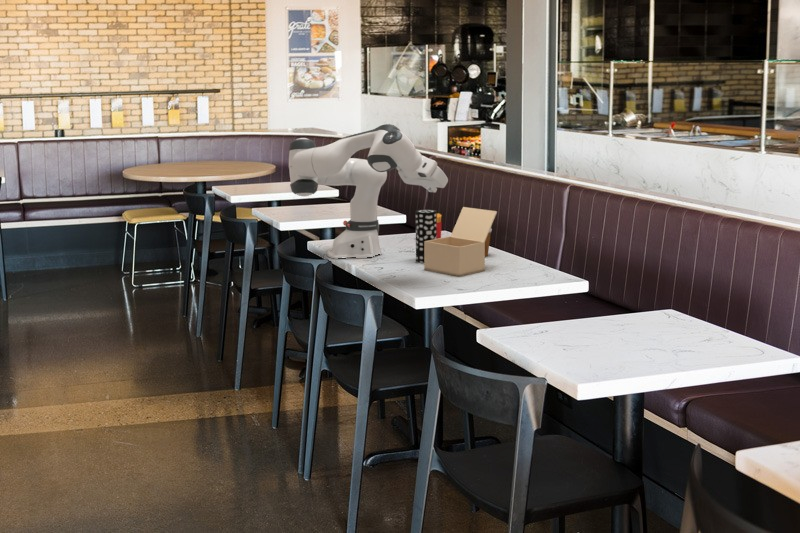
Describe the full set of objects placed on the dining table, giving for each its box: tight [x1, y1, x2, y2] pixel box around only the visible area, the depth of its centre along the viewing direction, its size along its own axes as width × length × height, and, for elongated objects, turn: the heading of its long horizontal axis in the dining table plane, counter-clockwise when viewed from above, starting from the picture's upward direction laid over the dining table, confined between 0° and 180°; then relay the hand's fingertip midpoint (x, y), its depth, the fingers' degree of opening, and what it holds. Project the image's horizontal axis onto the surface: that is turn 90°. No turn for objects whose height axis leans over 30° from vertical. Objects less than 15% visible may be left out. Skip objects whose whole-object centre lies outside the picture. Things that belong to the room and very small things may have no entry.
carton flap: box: [450, 206, 498, 242], centre depth 372 cm, size 13×17×1 cm
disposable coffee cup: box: [485, 227, 493, 258], centre depth 394 cm, size 10×10×12 cm
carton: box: [423, 236, 486, 278], centre depth 366 cm, size 14×18×11 cm
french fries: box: [437, 213, 442, 239], centre depth 423 cm, size 9×4×13 cm, turn 27°
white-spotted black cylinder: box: [415, 209, 438, 264], centre depth 383 cm, size 8×8×20 cm
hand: (433, 190), depth 353 cm, fingers closed
